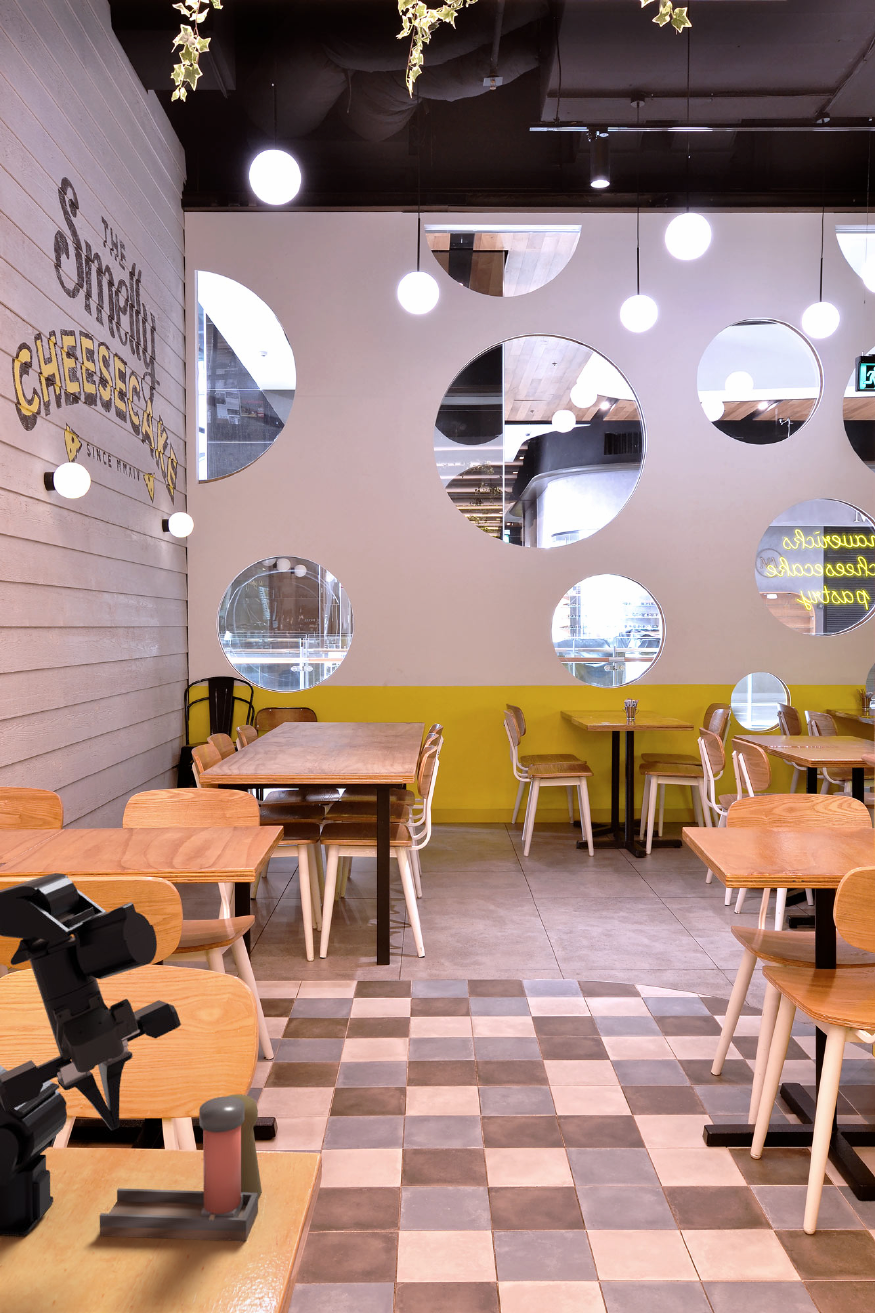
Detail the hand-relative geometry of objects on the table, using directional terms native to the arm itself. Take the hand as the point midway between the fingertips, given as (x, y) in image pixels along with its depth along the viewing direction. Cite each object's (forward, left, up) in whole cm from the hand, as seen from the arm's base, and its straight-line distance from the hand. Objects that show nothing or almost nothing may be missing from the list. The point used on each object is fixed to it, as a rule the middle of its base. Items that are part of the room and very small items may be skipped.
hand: (114, 1128), depth 100 cm
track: (+7, +2, -11) cm, 13 cm away
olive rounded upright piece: (+11, +7, -12) cm, 18 cm away
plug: (+11, +2, -10) cm, 15 cm away
